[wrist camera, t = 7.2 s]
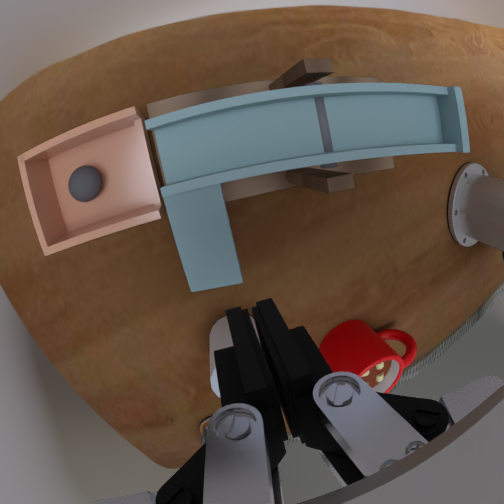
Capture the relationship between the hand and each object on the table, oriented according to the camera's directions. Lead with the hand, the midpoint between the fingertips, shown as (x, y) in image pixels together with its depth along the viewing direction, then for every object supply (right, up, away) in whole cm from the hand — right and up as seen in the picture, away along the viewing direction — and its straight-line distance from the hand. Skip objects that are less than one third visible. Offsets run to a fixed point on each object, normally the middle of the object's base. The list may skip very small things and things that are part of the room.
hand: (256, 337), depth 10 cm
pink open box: (-13, +9, +11) cm, 20 cm away
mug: (+14, -8, +24) cm, 29 cm away
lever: (+5, +9, +9) cm, 13 cm away
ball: (-14, +9, +9) cm, 19 cm away
